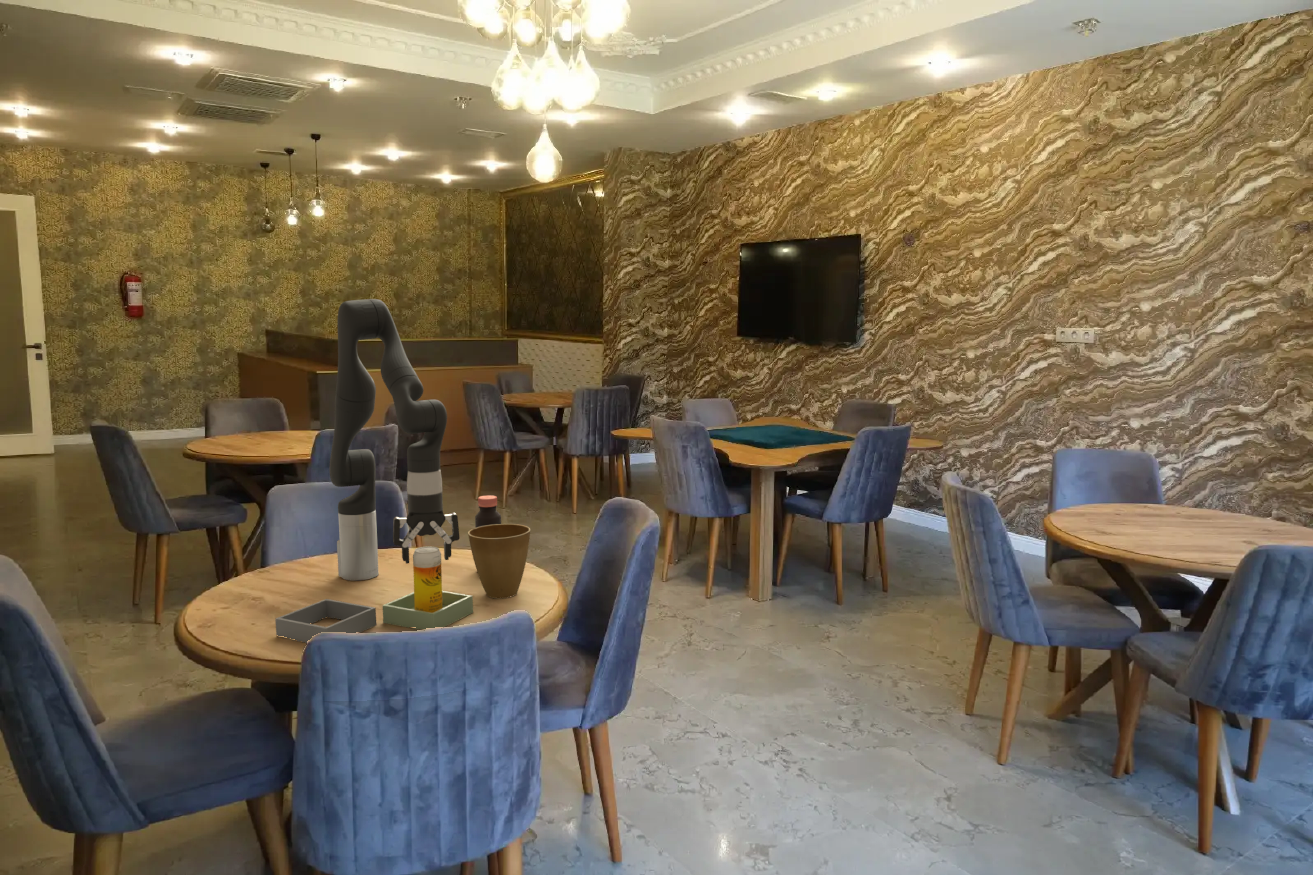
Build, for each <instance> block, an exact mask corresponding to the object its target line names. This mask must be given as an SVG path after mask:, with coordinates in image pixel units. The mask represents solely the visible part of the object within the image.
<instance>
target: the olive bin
mask: <svg viewBox="0 0 1313 875" xmlns="http://www.w3.org/2000/svg"><path fill="white" fill-rule="evenodd" d="M473 601H474V600H473V595H472V594H471V595H470V594H466V593H465V594H464V593H459V592H454V591H453V592H451V591H446V590H442V609H440V610H438V611H436V612H434V613H430V612H425V611H419V610H415V603H414V591H413V592H410V593H408V594H407V595H403V596H401V597H399V598H396V599H393V600H392V601H390V602H387V603H385V604H382V623H383V624H389V625H392V626H393V625H394V626H398V627H404V628H409V627H416V628H413V629H414V630H419V629H426V628H435V627H443V628H445V627H447V626H450V625H452V624H453V623H455V622H457V621H459V620H461V619H463V618H465V617H466V616H469V615H471V614H473V613H474V602H473Z"/></svg>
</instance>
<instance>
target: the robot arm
mask: <svg viewBox="0 0 1313 875" xmlns="http://www.w3.org/2000/svg"><path fill="white" fill-rule="evenodd" d="M373 339H375V340H376V339H380V341H381V342H382V343H383V345H384V349H383V354H382V358H381V361H380V375H381V379H382V381H383V382H384V384H385V387H386V388H387V390H388V392H389V393H390V395H391V397H392V400H393V405H394V408H395V416H396V421H397V424H398V427H399V428H400V429H401V430H402V431H403V432H404V433H407V434H411V435H412V434H420V433H422V434H423V433H424V434H423V436H422V439H420V440H419V441H417V442H415V443H412V444H410V445H409V446H408V448H407V451H406V456H407V457H406V458H407V459H406V461H407V464H406V465H407V477H406V490H407V491H406V492H407V494H406V495H407V516H406V517H399V516H394V517H393V519H392V520H393V523H392V524H393V525H392V526H393V527H392V528H393V529H392V542H393V545H394V546H399V547H400V548H401V559H402V560H403V562H405V564H408V565H409V564H410V547H409V545H410V543H411V542H413V540H414V539H415V538H416V537H417V536H419V537H423V536H434V535H435V534H438V536H440V538H442V540H444V542H443V554H444V555H443V557H444V560H445V561H449V559H450V558H452V544H453V542H455V541H459V540H460V530H459V528H460V527H459V518H458V515H457V513H456V512H452V513H449V514H444V503H443V479H442V477H443V476H442V472H441V471H442V470H441V449H442V448H441V447H442V445H443V440H444V437H445V436H444V435H445V432H446V429H447V428H446V427H447V424H448V413H447V409H446V407H445V405H444V404H443V402H442V401H440V400H438V399H425V400H420V399H421V398H422V396H423V394H424V386H423V383H422V382H421V380H420V379H419V376H418V374H417V372H416V371H415V370H414V367H413V366H412V365H411V363H410V360H409V359H408V356H407V354H406V351H405V349H404V346H403V344H402V343H403V342H402V341H401V337H400V335H399V331H398V329H397V326H396V324H395V322H394V319H393V317H392V314H391V311H390V310H389V308H388V306H387V305H386V303H385V302H384V301H382V300H381V299H377V298H369V299H354V300H346V301H343V302H342V303H341V304H340V305H339V308H338V311H337V348H338V349H337V353H338V354H337V356H338V357H337V359H338V360H337V377H336V388H335V397H334V398H335V399H334V427H333V428H334V429H333V439H332V445H331V450H330V452H331V453H330V459H329V468H328V470H329V477H330V481H331V483H332V485H334V486H335V487H338V488H347V487H357V486H359V488H358V489H357V490H356V491H355V492H354V493H352V494H351V495H349V496H346V497H344V498H343V499H341V500H339V501H338V503H337V514H338V530H339V532H338V533H339V534H338V535H339V539H338V540H337V541H336V549H337V553H336V555H337V570H338V571H337V572H338V577H341V578H342V579H343V580H346V581H364V580H370V579H372V578H375V577H377V576H379V553H378V552H379V551H378V533H377V531H378V530H377V511H376V509H377V508H376V496H377V494H376V471H377V470H376V459H375V456H374V453H373V451H372V450H371V449H368V448H365V449H364V448H363V449H361V448H360V449H350V446H351V444H352V442H353V440H354V439H355V437H356V436H357V435H358V433H360V431H361V430H362V429H363V428H364V427H365V425H367V423H368V421H370V419H371V417H372V416H373V415H374V414H373V413H374V412H375V404H376V395H377V394H376V393H377V392H376V391H377V387H376V384H375V381H374V379H373V377H372V376H371V374H370V373H369V371H368V370H367V369H366V367H365V366H364V364H363V363H362V361H361V359H360V357H359V355H358V342H359V341H362V340H363V341H365V340H373ZM446 521H447V522H448V523H449V524H450V525H451V530H452V531H451V532H452V534H450V535H449V534H448V533H447V532H446V531H445V529H443V528H442V526H443V525H444V523H445V522H446ZM405 524H406V525H407V526H408V527H409V529H408V531H407V532H406V534H405V536H404V537H403V539H401V538H400V537H401V535H400V534H401V531H400V529H401V528H403V527H404V525H405Z"/></svg>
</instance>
